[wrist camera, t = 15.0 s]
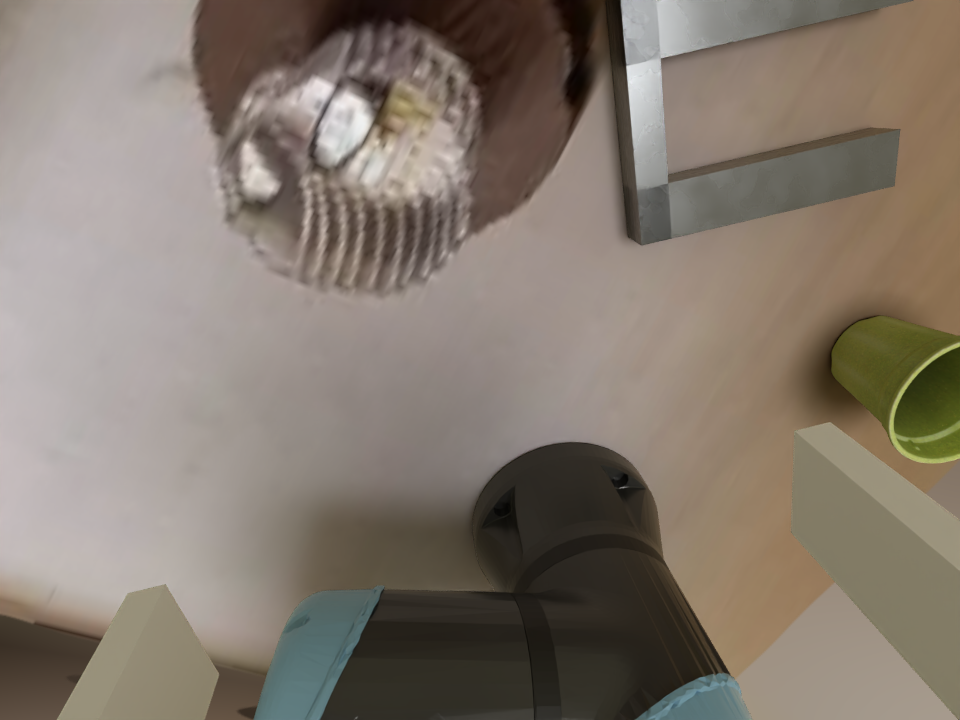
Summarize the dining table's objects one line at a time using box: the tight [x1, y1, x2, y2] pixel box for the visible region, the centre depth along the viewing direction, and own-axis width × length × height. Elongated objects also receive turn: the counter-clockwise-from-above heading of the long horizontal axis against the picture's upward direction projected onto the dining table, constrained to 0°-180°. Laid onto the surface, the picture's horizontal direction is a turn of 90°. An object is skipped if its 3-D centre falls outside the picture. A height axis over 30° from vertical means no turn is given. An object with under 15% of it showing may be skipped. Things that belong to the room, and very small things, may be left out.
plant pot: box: [831, 316, 960, 463], centre depth 42 cm, size 9×9×9 cm
